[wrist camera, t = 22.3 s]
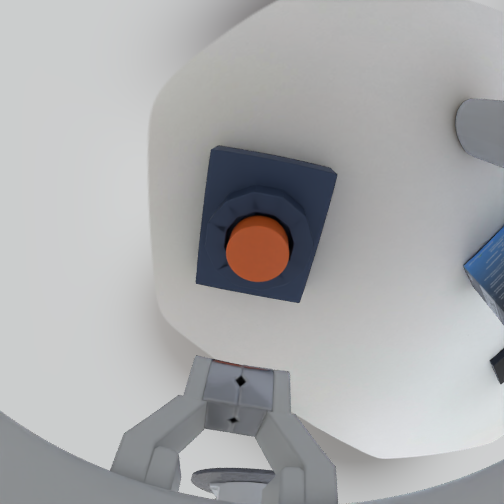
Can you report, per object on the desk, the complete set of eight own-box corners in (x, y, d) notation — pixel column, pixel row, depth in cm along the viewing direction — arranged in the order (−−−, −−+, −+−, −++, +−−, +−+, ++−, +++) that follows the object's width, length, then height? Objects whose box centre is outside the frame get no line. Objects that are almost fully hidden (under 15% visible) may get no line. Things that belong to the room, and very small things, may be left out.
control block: (298, 287, 24) (301, 318, 20) (201, 269, 23) (189, 297, 20) (331, 167, 19) (344, 180, 15) (217, 145, 19) (203, 152, 15)
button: (281, 272, 19) (281, 287, 17) (226, 261, 19) (222, 276, 17) (294, 221, 17) (295, 233, 16) (234, 209, 17) (230, 220, 16)
